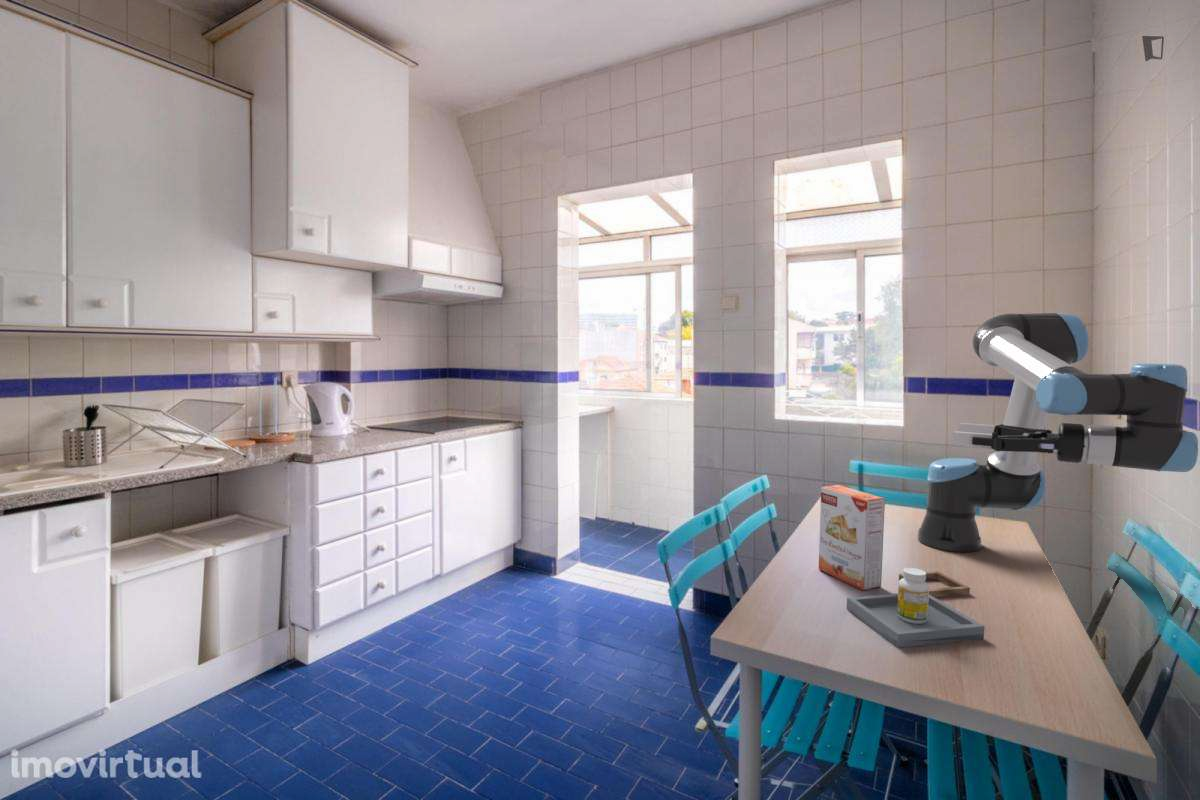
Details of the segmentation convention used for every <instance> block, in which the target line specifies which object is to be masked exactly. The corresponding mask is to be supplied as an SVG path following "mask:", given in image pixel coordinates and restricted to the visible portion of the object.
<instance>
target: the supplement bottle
mask: <svg viewBox="0 0 1200 800" xmlns="http://www.w3.org/2000/svg"><path fill="white" fill-rule="evenodd" d="M926 572H927V571H924V570H923V569H920V568H916V567H905V568H903V569H902V574H903V577H904V578H902V579H901V580H900V581H899V580H898V581H899V582H898V588H897V589H898V590H897V591H898V593H897V594H898V608H897V615H898V617H899V618H900V619H902V620H903V621H906V622H909V623H913V624H923V623H926V622H927V619H928V602H929V589H930V586H929V584H928V583H927V582H926V581H927V580H926Z"/></svg>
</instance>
